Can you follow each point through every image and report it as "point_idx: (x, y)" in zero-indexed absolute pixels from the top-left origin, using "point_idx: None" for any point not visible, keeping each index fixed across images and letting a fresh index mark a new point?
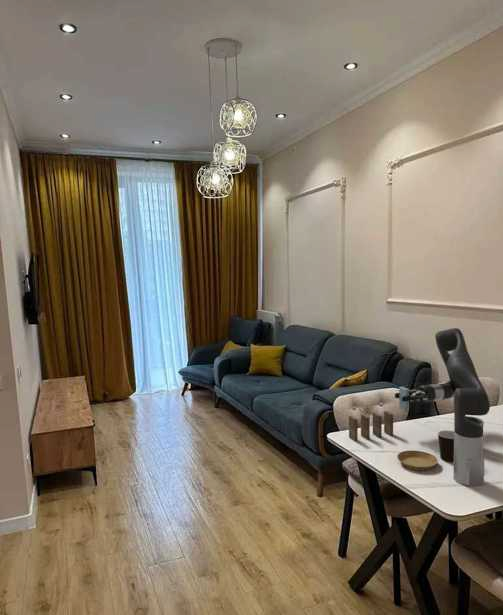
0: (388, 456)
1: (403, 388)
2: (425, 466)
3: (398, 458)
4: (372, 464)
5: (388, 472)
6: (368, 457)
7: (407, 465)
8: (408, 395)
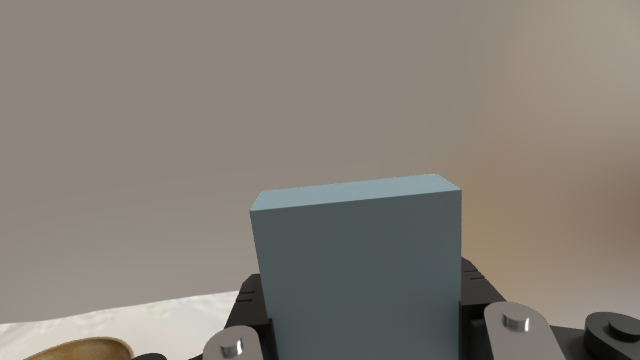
0: (185, 354)
1: (338, 186)
2: None
3: (118, 347)
4: (185, 297)
5: (118, 312)
6: (225, 303)
7: (62, 350)
8: (268, 310)
